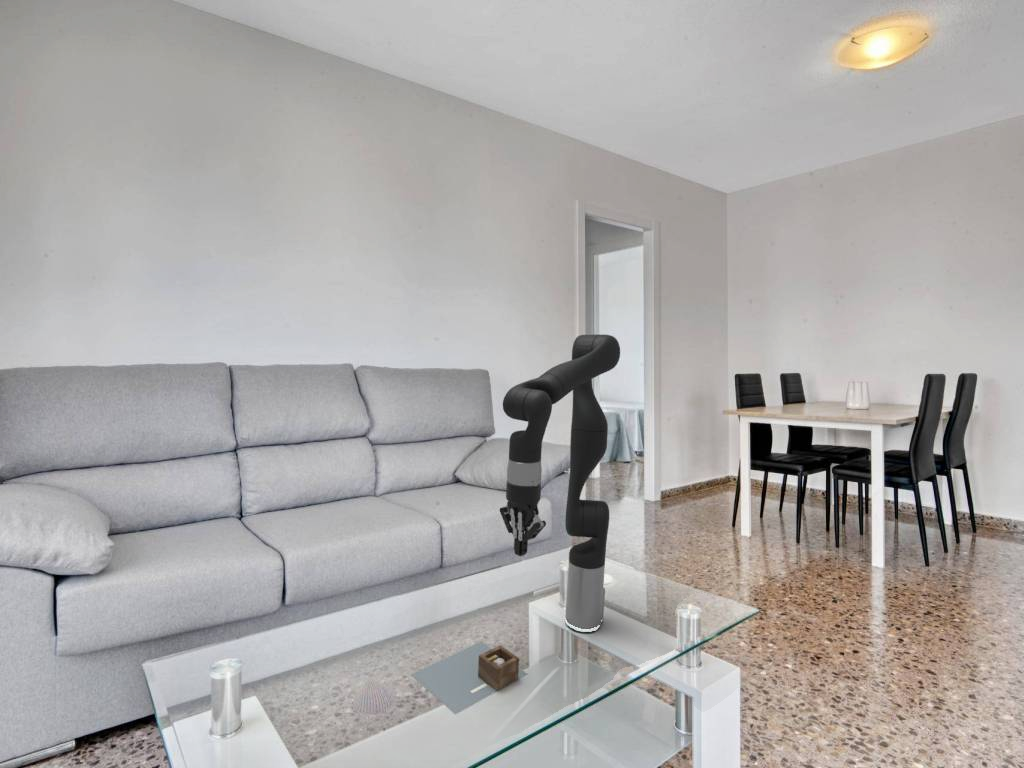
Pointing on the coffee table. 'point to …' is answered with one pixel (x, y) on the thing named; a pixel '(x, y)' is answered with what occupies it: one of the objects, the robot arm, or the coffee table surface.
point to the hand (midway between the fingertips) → (520, 554)
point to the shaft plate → (458, 678)
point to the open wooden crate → (498, 668)
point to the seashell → (373, 698)
